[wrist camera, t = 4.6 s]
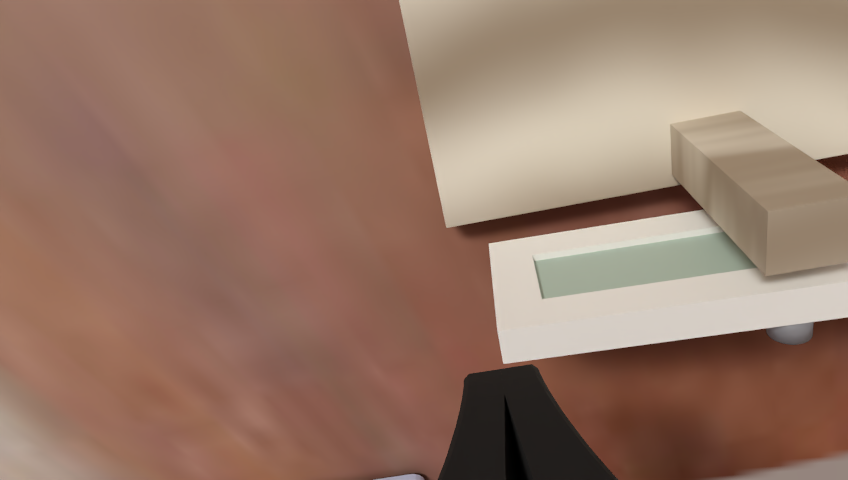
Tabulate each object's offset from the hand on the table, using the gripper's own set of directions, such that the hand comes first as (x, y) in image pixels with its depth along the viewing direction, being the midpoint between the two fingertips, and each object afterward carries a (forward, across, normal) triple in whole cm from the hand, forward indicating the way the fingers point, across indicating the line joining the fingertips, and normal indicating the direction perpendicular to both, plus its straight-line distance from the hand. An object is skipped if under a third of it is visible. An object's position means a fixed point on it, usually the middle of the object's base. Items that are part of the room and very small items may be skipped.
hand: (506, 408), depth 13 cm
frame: (+7, -7, +1) cm, 11 cm away
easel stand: (+10, -7, -4) cm, 13 cm away
